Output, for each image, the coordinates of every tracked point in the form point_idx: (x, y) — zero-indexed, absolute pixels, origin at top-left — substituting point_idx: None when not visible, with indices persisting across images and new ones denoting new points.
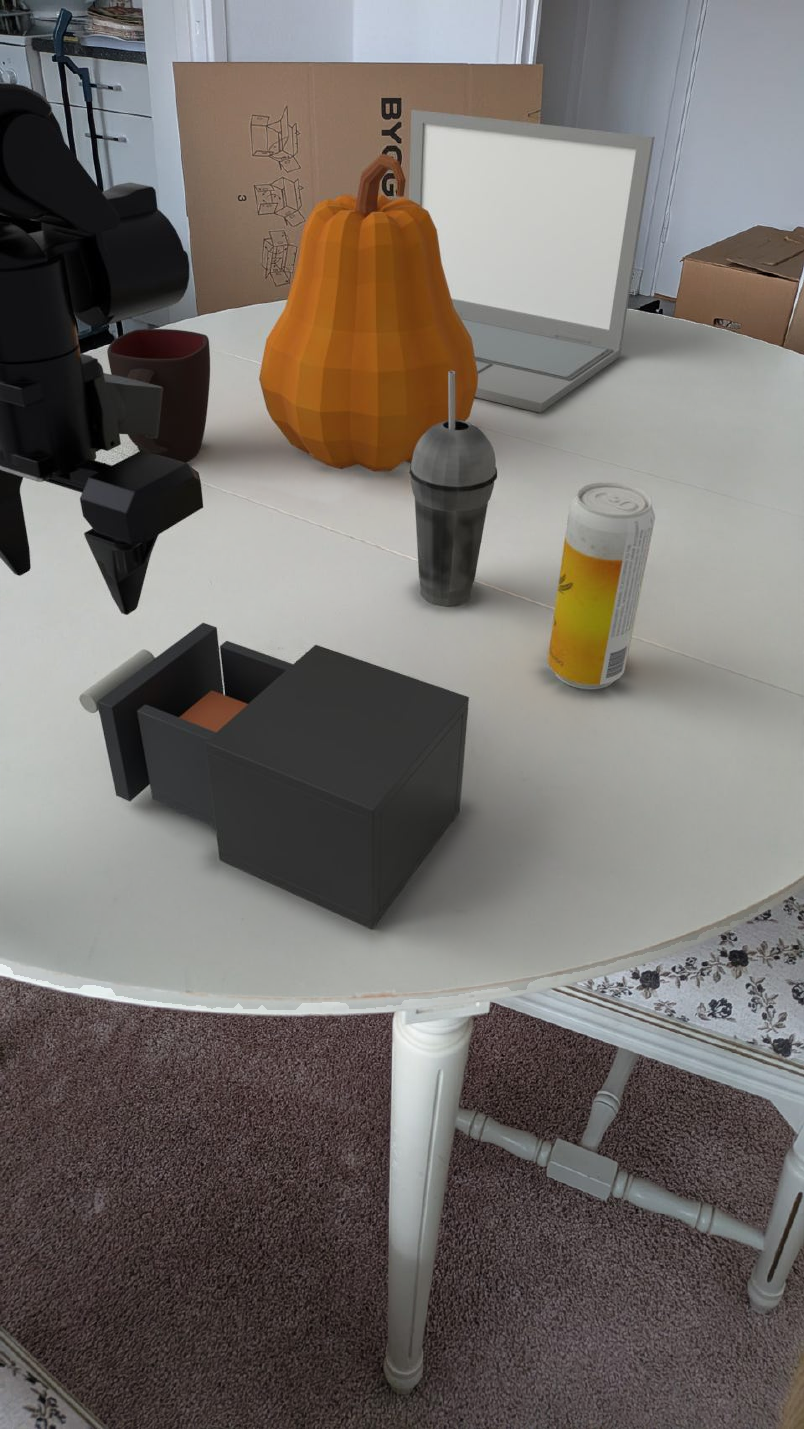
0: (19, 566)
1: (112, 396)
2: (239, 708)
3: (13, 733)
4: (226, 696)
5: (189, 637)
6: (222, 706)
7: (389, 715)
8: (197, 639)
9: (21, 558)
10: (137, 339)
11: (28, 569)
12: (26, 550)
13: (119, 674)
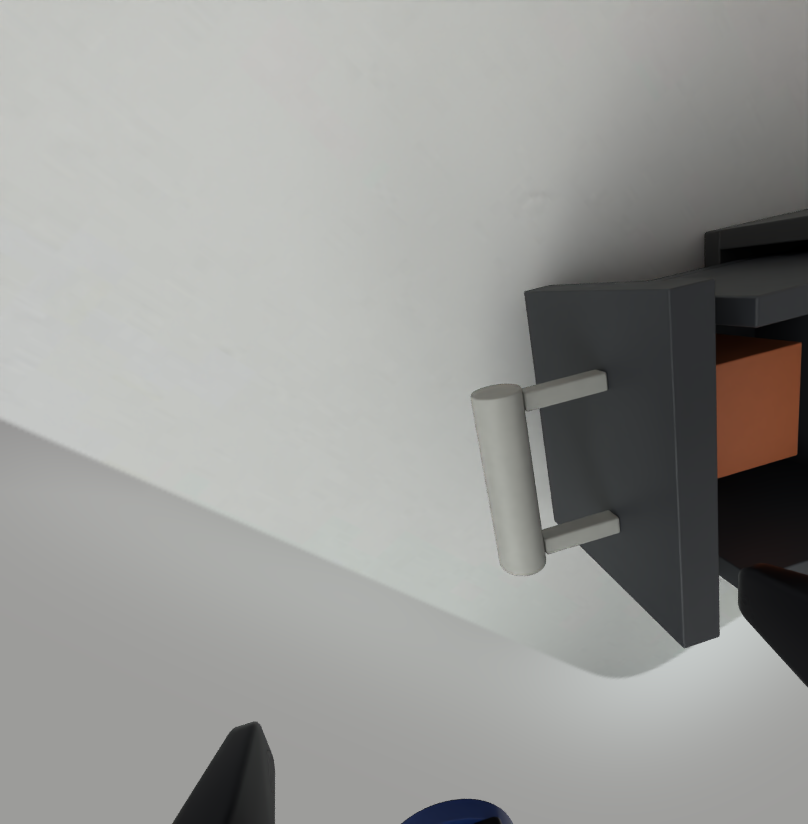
0: (265, 794)
1: None
2: (768, 371)
3: (293, 542)
4: (726, 363)
5: (688, 368)
6: (739, 391)
7: None
8: (708, 357)
9: (257, 814)
10: None
11: (262, 734)
12: (238, 814)
13: (530, 492)
